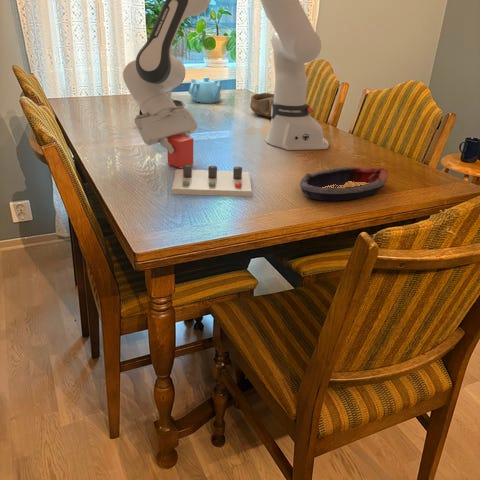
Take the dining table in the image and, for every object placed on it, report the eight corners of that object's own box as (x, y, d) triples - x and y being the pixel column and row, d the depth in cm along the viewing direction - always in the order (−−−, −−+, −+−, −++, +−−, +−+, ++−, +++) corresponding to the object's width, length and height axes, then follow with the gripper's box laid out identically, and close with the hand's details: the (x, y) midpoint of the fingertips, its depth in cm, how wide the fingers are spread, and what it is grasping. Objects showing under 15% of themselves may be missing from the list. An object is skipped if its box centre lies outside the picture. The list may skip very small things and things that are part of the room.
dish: (284, 189, 136) (286, 172, 133) (367, 175, 149) (370, 160, 147) (318, 211, 124) (321, 192, 121) (405, 193, 138) (408, 176, 135)
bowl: (295, 116, 207) (291, 93, 201) (266, 127, 203) (262, 104, 197) (273, 106, 221) (270, 84, 215) (247, 116, 217) (242, 95, 211)
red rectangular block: (180, 159, 152) (180, 134, 148) (193, 163, 149) (193, 138, 146) (167, 163, 148) (167, 138, 144) (180, 168, 145) (180, 142, 142)
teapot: (191, 96, 238) (191, 73, 233) (221, 98, 238) (222, 75, 233) (188, 103, 224) (188, 79, 219) (220, 105, 225) (221, 80, 220)
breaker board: (248, 176, 142) (249, 161, 140) (251, 196, 129) (252, 180, 127) (176, 174, 141) (176, 159, 139) (172, 194, 128) (171, 177, 126)
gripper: (136, 110, 137) (161, 151, 137) (186, 100, 152) (209, 137, 151) (126, 123, 142) (151, 163, 141) (176, 112, 156) (198, 148, 156)
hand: (181, 149), depth 146 cm, fingers closed on red rectangular block, 5 cm apart
